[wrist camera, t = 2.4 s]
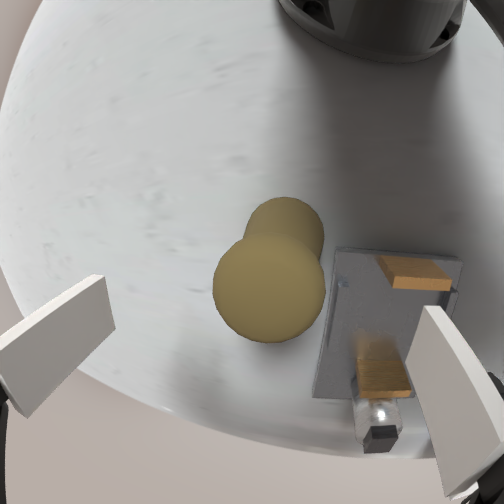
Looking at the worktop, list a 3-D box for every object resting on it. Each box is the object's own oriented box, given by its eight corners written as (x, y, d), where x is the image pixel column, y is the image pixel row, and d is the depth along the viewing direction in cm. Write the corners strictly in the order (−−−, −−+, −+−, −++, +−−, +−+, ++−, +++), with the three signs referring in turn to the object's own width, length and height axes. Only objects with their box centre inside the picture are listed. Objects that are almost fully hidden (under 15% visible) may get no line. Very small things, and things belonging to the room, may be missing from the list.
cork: (261, 281, 23) (226, 371, 13) (234, 211, 22) (171, 260, 12) (333, 261, 22) (351, 347, 11) (310, 186, 20) (313, 213, 10)
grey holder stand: (336, 246, 21) (351, 298, 13) (457, 257, 19) (511, 303, 11) (312, 389, 26) (308, 458, 18) (411, 389, 24) (429, 451, 16)
